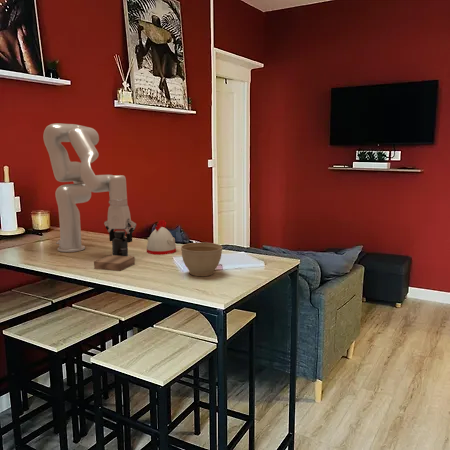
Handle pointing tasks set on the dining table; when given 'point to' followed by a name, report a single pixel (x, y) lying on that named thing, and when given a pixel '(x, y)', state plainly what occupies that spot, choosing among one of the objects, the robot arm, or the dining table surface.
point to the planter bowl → (201, 258)
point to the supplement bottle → (119, 244)
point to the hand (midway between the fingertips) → (120, 241)
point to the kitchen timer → (161, 241)
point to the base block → (114, 262)
